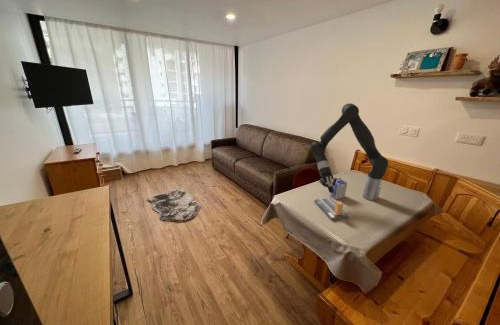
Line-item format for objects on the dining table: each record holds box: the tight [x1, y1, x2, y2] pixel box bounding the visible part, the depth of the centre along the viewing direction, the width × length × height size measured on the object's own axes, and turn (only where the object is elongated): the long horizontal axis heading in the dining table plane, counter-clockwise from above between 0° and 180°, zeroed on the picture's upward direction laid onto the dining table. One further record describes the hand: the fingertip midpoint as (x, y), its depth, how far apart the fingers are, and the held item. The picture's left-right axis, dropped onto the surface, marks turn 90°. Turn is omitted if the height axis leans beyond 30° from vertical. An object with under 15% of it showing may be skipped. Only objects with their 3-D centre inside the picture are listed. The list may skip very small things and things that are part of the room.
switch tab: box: [334, 200, 344, 215], centre depth 127 cm, size 3×3×8 cm
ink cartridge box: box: [330, 177, 348, 200], centre depth 149 cm, size 10×6×14 cm, turn 113°
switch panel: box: [314, 197, 349, 221], centre depth 136 cm, size 12×21×4 cm, turn 12°
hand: (331, 192), depth 133 cm, fingers closed
